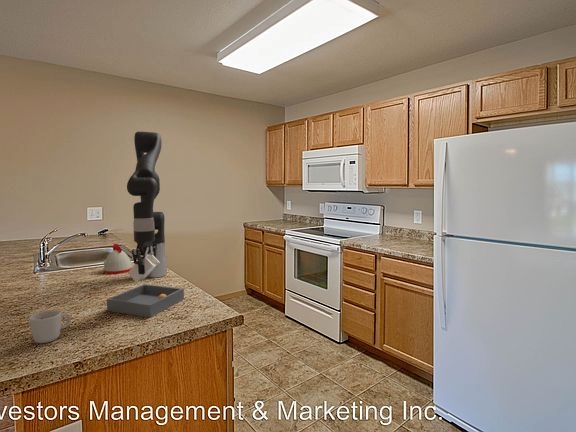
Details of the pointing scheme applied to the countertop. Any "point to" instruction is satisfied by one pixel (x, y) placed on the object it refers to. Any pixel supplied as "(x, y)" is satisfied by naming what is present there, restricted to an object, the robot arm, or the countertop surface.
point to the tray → (145, 300)
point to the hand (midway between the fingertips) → (145, 271)
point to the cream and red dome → (117, 262)
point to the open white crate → (149, 266)
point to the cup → (47, 325)
